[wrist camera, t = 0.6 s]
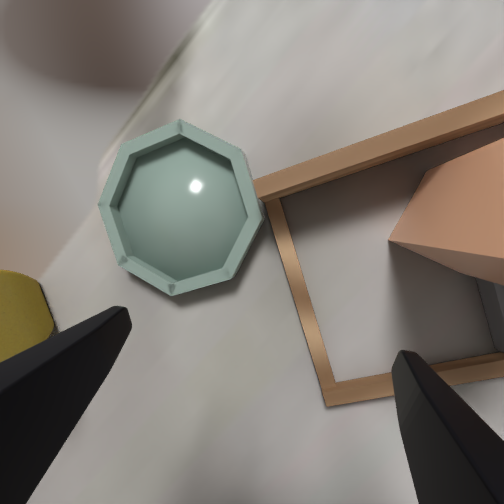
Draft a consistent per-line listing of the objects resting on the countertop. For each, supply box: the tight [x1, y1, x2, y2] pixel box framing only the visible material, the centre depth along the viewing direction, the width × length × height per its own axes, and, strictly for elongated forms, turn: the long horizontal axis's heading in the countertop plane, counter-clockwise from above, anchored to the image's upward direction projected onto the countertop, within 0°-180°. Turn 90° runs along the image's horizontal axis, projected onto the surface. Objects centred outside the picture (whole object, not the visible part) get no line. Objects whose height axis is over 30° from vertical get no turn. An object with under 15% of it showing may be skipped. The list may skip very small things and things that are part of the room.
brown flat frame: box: [252, 90, 504, 407], centre depth 18 cm, size 18×21×4 cm
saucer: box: [98, 119, 265, 296], centre depth 22 cm, size 13×13×2 cm
